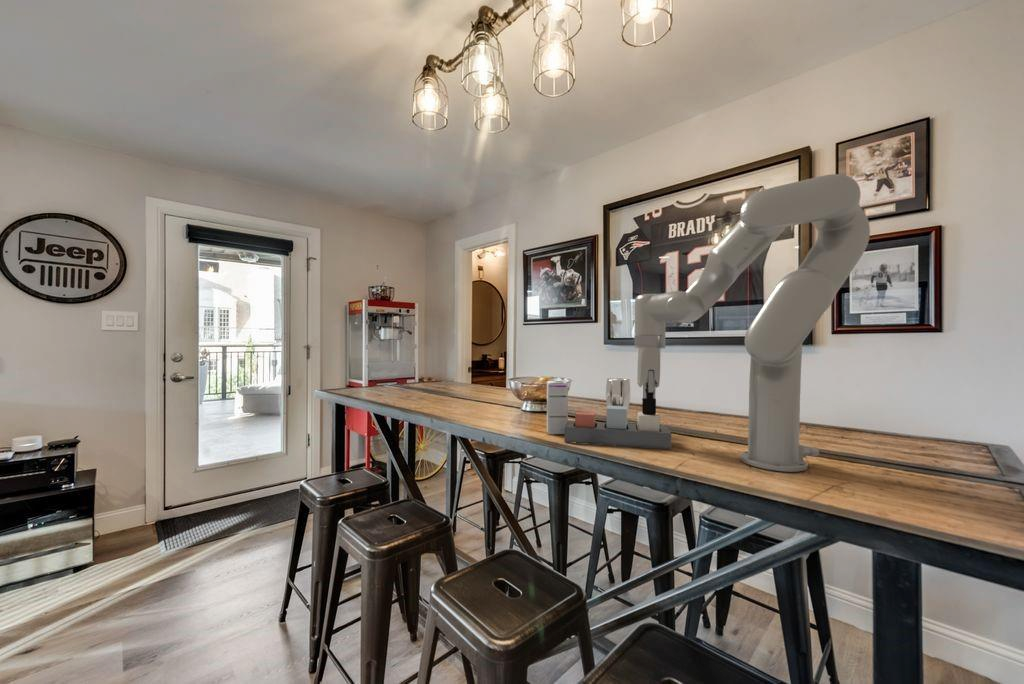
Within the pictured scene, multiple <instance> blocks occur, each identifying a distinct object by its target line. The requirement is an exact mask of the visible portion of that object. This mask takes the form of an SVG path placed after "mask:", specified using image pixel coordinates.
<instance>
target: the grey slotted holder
mask: <svg viewBox="0 0 1024 684" xmlns="http://www.w3.org/2000/svg"><path fill="white" fill-rule="evenodd" d="M637 428H638V423H637V424H634V423H627V429H616V428H606V422H604V421H603V422H601V421H595V428H592V427H576V426H575V420H568V422H567V423H566V425H565V435H564V438H563V439H564V442H576V443H575V444H579V443H588V444H587V445H593V444H602V445H601V446H608V445H616V446H615V447H623V446H630V447H629V448H637V447H647V448H646V449H652V448H657V449H656V450H666V449H669V450H668V451H672V432H671V431H670V429H669V428H668V426H667V425H660V432H659V431H643V430H637Z"/></svg>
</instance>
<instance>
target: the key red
mask: <svg viewBox="0 0 1024 684" xmlns="http://www.w3.org/2000/svg"><path fill="white" fill-rule="evenodd" d="M574 416H575V417H574V418H575V419H574V421H575V426H576V427H592V428H595V422H596V411H586V410H576V411H575V415H574Z"/></svg>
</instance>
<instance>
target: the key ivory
mask: <svg viewBox="0 0 1024 684" xmlns="http://www.w3.org/2000/svg"><path fill="white" fill-rule="evenodd" d="M660 418H661V417H660V415H659V413H658V412H656V414H655V415H648V414H643V413H642V411H638V412H637V424H638V428H637V430H643V431H659V432H660V426H661V425H660V423H661V419H660Z"/></svg>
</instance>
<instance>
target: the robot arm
mask: <svg viewBox="0 0 1024 684" xmlns="http://www.w3.org/2000/svg"><path fill="white" fill-rule="evenodd" d="M860 201H861V188H860V185H859V183H858V182H857V181H856V180H855V179H854V178H853V177H851V176H848V175H846V174H840V173H838V174H837V173H832V174H831V173H830V174H825V175H821V176H816V177H812V178H806V179H804V180H803V179H802V180H799V181H795V182H790V183H785V184H781V185H777V186H773V187H769V188H766V189H762V190H759V191H758V192H755V193H753V194H752V195H750V196H749V197H747V199H745V200H744V202H743V204H742V206H741V207H740V209H739V217H740V219H739V220H738V221H737V222H736V223H735V224H734V226H732V228H731V229H729V231H728V232H727V233H726V234H725V235H724V236H723V237H722V238H721V239H720V240H719V241H718V242H717V243H716V244H715V245H714V246H713V247H712V248H711V250H710V252H709V253H708V255H707V259H706V263H705V265H704V268H703V270H702V272H701V274H700V275H699V276H698V278H697V279H696V280H695V281H694V282H693V283H692V284H691V286H690V287H689V288H688V289H686V291H684V290H683V291H682V290H675V291H669V292H664V293H663V292H662V293H644V294H643V293H642V294H639V295H637V296H636V297H635V300H634V349H638V352H637V379H636V382H637V383H636V384H637V385H638V387H639V388H642V399H641V400H642V401H641V402H642V403H641V404H642V407H641V412H642V413H643V414H648V415H655V414H656V413H657V411H656V410H657V399H656V393H657V392H656V390H657V389H658V388H659V387H660V384H661V383H660V382H661V349H666V322H673V323H674V322H675V323H683V324H690V323H693V322H695V321H698V320H699V319H700V318H701V317H703V316H704V315H705V314H706V313H707V312H708V311H709V310H710V309H711V308H713V306H714V305H715V304H716V303H717V302H718V301H719V300H720V299H721V298H722V297H723V296H724V294H725V293H726V292H727V291H728V289H729V288H730V287H731V286H732V285H733V284H734V283H735V281H736V280H737V279H738V278H739V276H740V275H741V273H743V272H744V271H745V270H746V269H747V268H748V267H749V266H750V265H751V264H752V263H753V262H754V261H755V260H756V259H757V258H758V257H759V255H761V254H762V253H763V252H764V251H765V250H766V249H767V248H768V247H769V246H770V245H771V244H772V243H773V242H774V241H775V240H777V238H778V237H779V236H780V235H781V234H782V233H783V232H784V231H785V229H786V228H787V227H791V226H799V225H802V224H809V223H811V224H812V226H813V227H815V228H816V230H817V238H816V240H815V243H814V244H813V245H812V247H810V248H809V251H808V252H807V254H806V256H805V257H804V259H803V260H802V262H801V263H800V264H799V266H798V268H797V269H796V270H793V271H792V272H790V273H788V274H786V275H785V276H784V277H783V278H781V279H780V280H779V282H778V283H777V284H776V286H775V288H773V290H772V292H771V293H770V295H769V296H768V298H767V299H766V301H765V302H764V304H763V305H762V307H761V308H760V310H759V312H758V313H757V315H756V316H755V317H754V319H753V320H752V321H751V323H750V325H749V326H748V328H747V330H746V331H745V332H746V333H745V336H744V346H745V347H744V348H745V350H746V352H747V353H748V354H749V356H750V366H749V383H748V385H749V386H748V387H749V390H748V426H747V427H748V428H747V429H748V433H747V434H748V435H747V451H743V452H741V453H740V454H739V459H740V461H741V462H743V463H744V464H746V465H749V466H752V467H756V468H760V469H762V470H763V469H764V470H767V471H773V472H775V471H776V472H782V473H783V472H785V473H798V472H799V473H800V472H804V471H806V470H808V462H807V461H806V460H804V458H806V457H807V456H808V457H817V456H819V455H820V449H819V448H818V447H816V446H806V447H805V446H804V445H803V444H800V425H801V424H800V420H801V418H800V415H801V414H800V413H801V385H802V384H801V383H802V382H801V381H802V379H801V377H802V376H801V375H802V360H803V359H802V356H803V355H802V354H803V343H804V342H805V340H806V338H808V336H809V335H810V333H811V332H812V330H813V329H814V327H815V326H816V325H817V324H818V322H819V320H820V319H821V318H822V317H823V315H824V314H825V312H826V311H827V310H828V309H829V308H830V307H831V305H832V304H833V302H834V299H835V297H836V295H837V294H838V292H839V290H840V289H841V288H842V286H843V285H844V284H845V282H846V280H847V279H848V277H850V275H851V273H852V271H853V270H854V268H855V267H856V265H857V264H858V263H859V261H860V259H861V258H862V256H863V254H865V250H866V249H867V247H868V244H869V241H870V237H871V227H870V222H869V218H868V217H867V215H866V213H865V211H864V209H862V207H861V205H860Z"/></svg>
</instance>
